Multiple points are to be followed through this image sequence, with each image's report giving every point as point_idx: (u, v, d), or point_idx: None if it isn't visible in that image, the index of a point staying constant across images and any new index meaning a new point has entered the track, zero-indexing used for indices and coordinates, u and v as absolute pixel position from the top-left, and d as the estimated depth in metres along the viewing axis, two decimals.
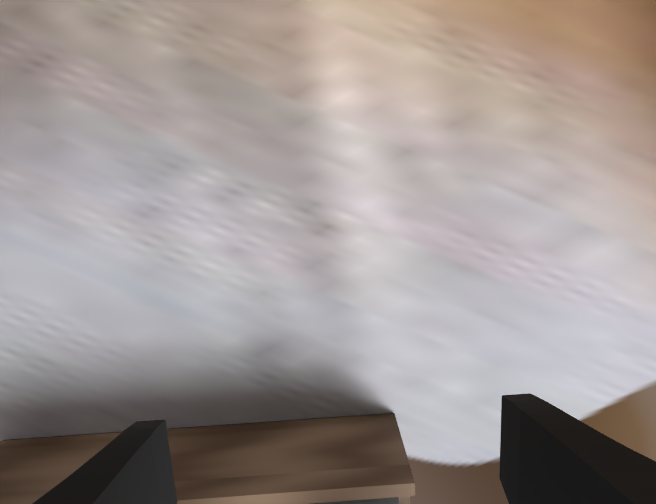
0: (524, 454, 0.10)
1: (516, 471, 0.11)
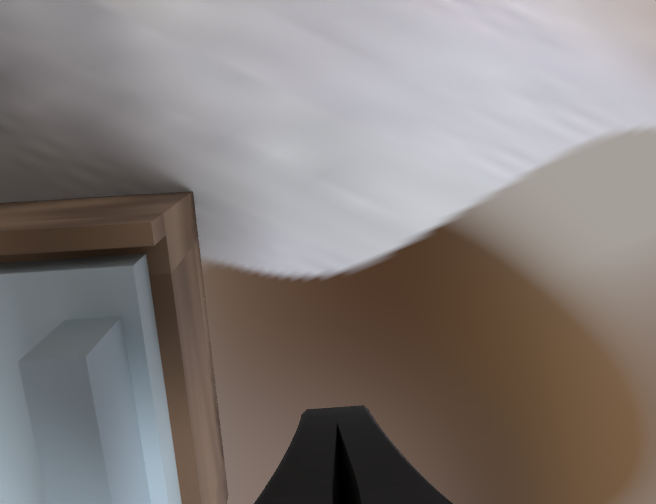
0: (340, 468, 0.10)
1: None
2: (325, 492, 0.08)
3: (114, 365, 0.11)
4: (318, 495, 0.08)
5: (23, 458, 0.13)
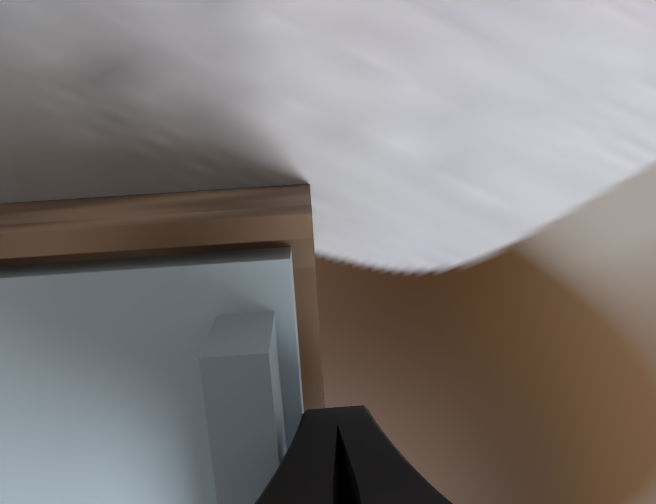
0: (340, 468, 0.10)
1: None
2: (325, 492, 0.08)
3: (275, 362, 0.11)
4: (318, 495, 0.08)
5: (165, 458, 0.12)
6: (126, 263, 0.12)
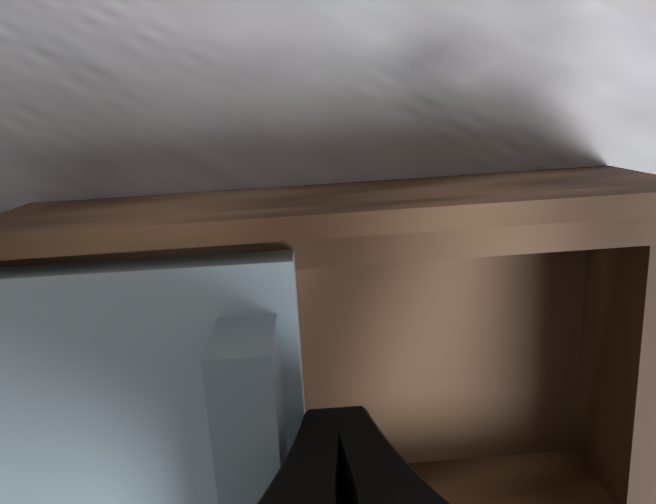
0: None
1: None
2: (328, 492, 0.08)
3: (278, 364, 0.11)
4: (321, 495, 0.08)
5: (166, 460, 0.12)
6: (129, 264, 0.12)
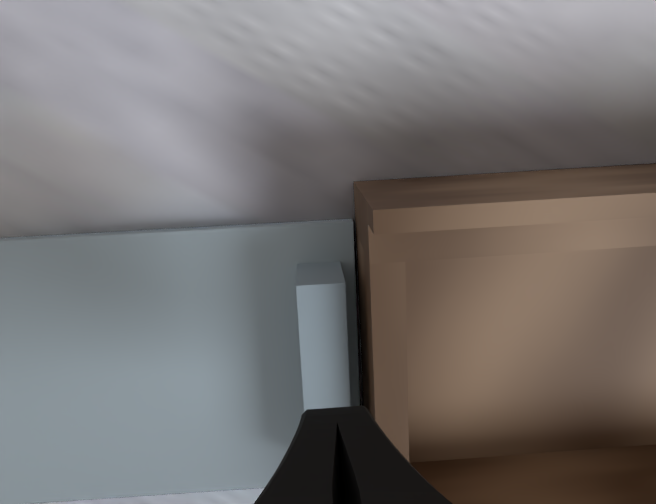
0: (341, 468, 0.10)
1: None
2: (325, 492, 0.08)
3: None
4: (318, 495, 0.08)
5: (253, 373, 0.16)
6: None
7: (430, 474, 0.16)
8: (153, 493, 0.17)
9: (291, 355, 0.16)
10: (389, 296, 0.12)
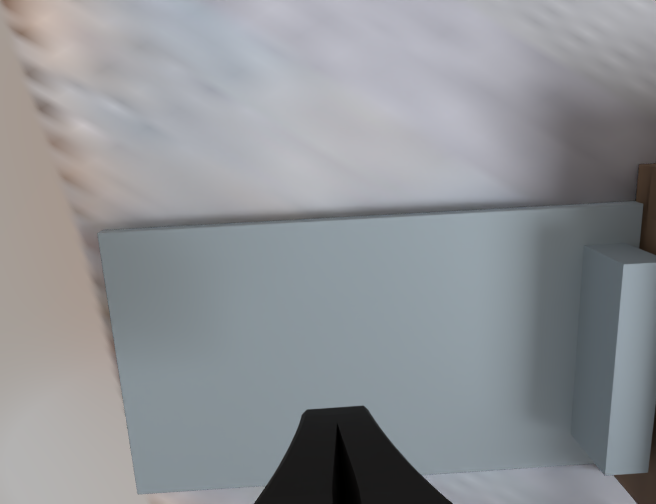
0: (341, 468, 0.10)
1: None
2: (325, 492, 0.08)
3: None
4: (318, 495, 0.08)
5: (526, 354, 0.16)
6: None
7: None
8: None
9: (565, 336, 0.16)
10: None
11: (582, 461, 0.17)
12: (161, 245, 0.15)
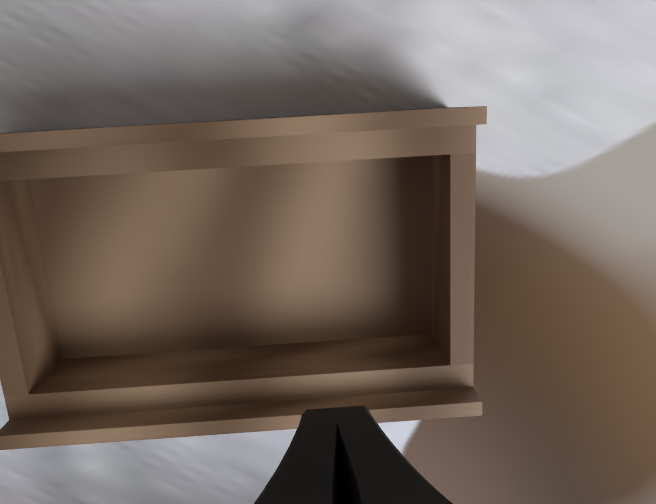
0: (340, 468, 0.10)
1: None
2: (325, 492, 0.08)
3: None
4: (318, 495, 0.08)
5: None
6: None
7: (82, 364, 0.21)
8: None
9: None
10: None
11: None
12: None
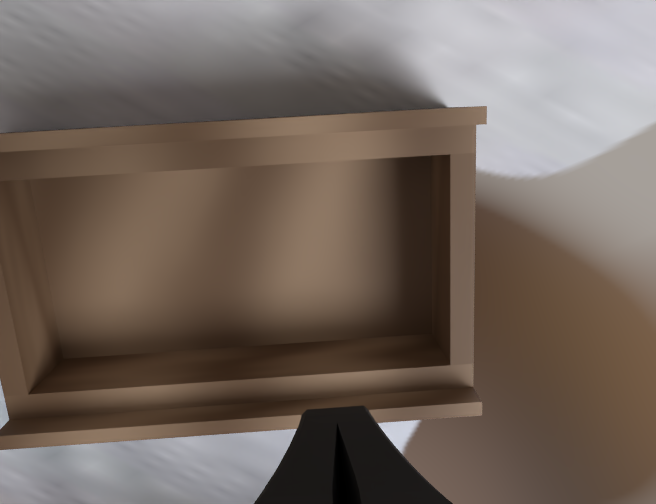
0: (340, 468, 0.10)
1: None
2: (325, 492, 0.08)
3: None
4: (318, 495, 0.08)
5: None
6: None
7: (82, 364, 0.21)
8: None
9: None
10: None
11: None
12: None
